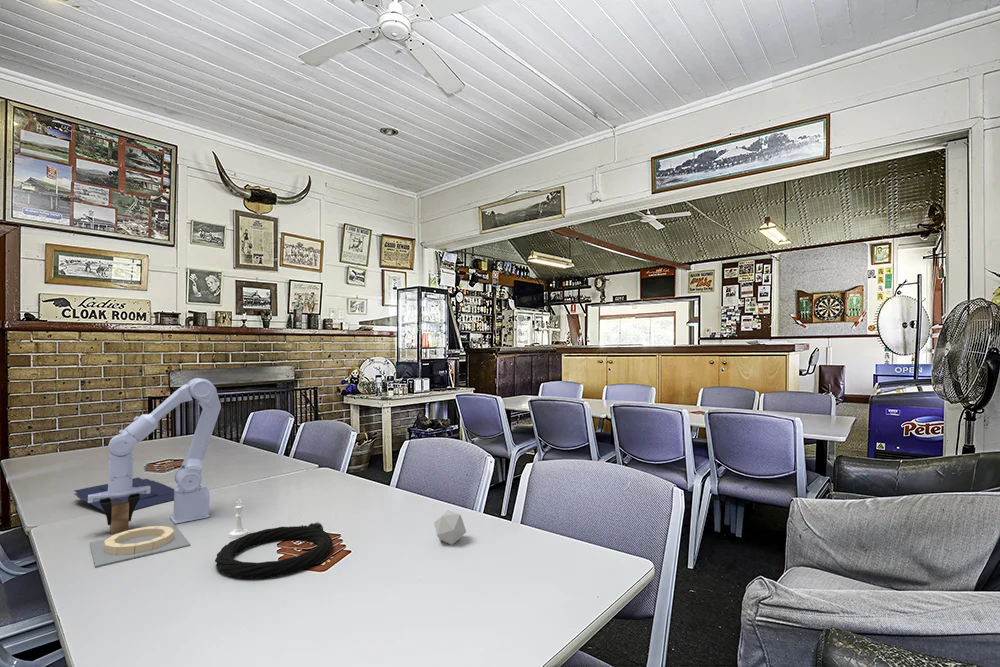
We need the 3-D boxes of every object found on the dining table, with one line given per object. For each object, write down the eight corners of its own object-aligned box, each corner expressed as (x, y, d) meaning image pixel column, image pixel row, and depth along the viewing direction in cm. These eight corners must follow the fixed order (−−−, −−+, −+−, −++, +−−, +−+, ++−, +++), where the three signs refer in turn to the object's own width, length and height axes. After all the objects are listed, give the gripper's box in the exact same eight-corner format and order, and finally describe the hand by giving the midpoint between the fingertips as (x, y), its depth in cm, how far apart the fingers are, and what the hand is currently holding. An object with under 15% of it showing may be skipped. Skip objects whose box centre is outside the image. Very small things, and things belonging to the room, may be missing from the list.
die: (472, 543, 137) (467, 509, 143) (458, 537, 130) (454, 502, 136) (445, 552, 139) (442, 517, 145) (431, 546, 132) (428, 510, 138)
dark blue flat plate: (143, 483, 192) (143, 474, 192) (188, 503, 179) (189, 493, 179) (65, 499, 171) (66, 489, 171) (110, 524, 157) (111, 513, 157)
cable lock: (187, 556, 119) (280, 516, 147) (187, 572, 119) (280, 529, 147) (279, 573, 110) (359, 527, 138) (279, 590, 110) (359, 541, 138)
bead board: (175, 526, 148) (176, 518, 148) (190, 545, 134) (190, 536, 134) (89, 543, 135) (89, 535, 135) (95, 567, 120) (95, 557, 120)
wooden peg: (126, 527, 147) (127, 500, 148) (128, 530, 145) (129, 503, 145) (109, 530, 145) (110, 503, 145) (111, 534, 142) (111, 506, 142)
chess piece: (240, 538, 139) (240, 502, 139) (224, 537, 140) (225, 501, 140) (252, 532, 144) (252, 497, 144) (237, 531, 145) (238, 496, 145)
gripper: (148, 469, 153) (147, 513, 153) (87, 477, 143) (86, 524, 143) (152, 473, 148) (150, 519, 147) (89, 482, 138) (87, 531, 138)
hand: (119, 522), depth 145 cm, fingers closed on wooden peg, 4 cm apart
